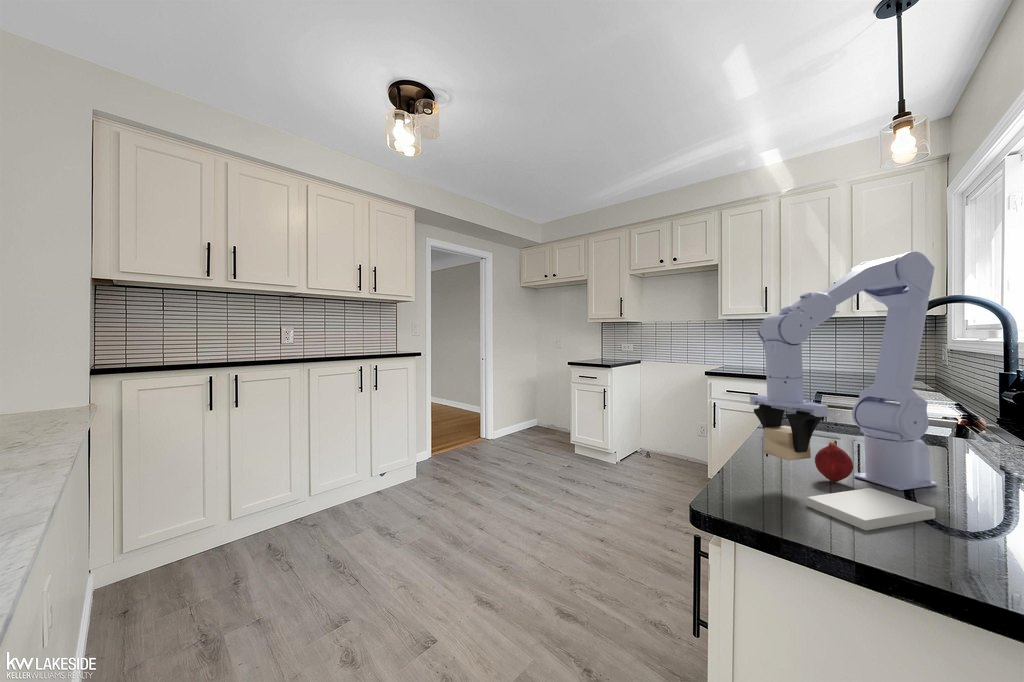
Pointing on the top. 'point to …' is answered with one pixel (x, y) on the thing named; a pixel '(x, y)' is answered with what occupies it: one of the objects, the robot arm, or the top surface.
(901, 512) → the cutting board
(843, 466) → the onion
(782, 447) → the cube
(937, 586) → the top surface
